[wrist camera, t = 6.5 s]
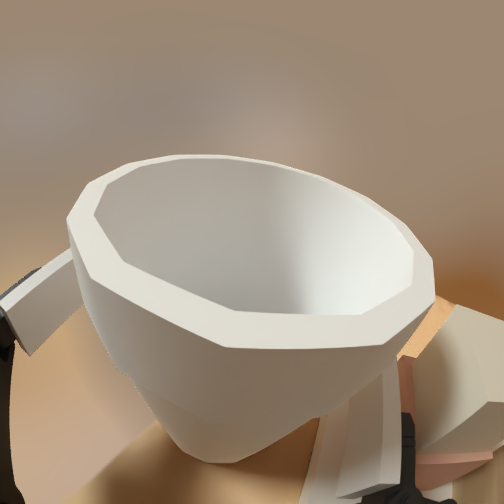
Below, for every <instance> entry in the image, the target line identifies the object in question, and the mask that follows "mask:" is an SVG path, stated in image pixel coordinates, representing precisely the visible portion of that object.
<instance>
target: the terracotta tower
mask: <svg viewBox="0 0 504 504" xmlns="http://www.w3.org/2000/svg"><path fill="white" fill-rule="evenodd" d="M397 366H398V376H399V388H400V403H401V412H406V413H410V414H411V416H412V419H413V421H414V424H415V444H416V446H415V449H416V465H415V486H416V488H418V489H419V490H420V491H427V490H433V489H435V488H438V487H440V486H442V485H444V484H447V483H449V482H451V481H453V480H455V479H457V478H459V477H461V476H463V475H465V474H467V473H469V472H471V471H472V470H474V469H476V468H478V467H480V466H481V465H483V464H485V463H486V462H488V461H490V460H491V459H493V451H492V447H494V446H495V445H497V444H498V443H500V442H501V441H503V440H504V321H502V320H499V319H496V318H494V317H491V316H488V315H485V314H482V313H480V312H477V311H474V310H471V309H469V308H466V307H463V306H460V305H458V304H456V306H455V307H454V309H453V310H452V312H451V313H450V315H449V316H448V318H447V319H446V321H445V322H444V323H443V325H442V326H441V328H440V329H439V330H438V332H437V333H436V334H435V336H434V337H433V338H432V340H431V341H430V342H429V343H428V345H427V346H426V347H425V348H424V350H423V351H422V352H421V353H420V355H419V356H418V357H417V358H413V357H409V356H405V355H402V357H401V358H400V359H399V360H398V362H397Z"/></svg>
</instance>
